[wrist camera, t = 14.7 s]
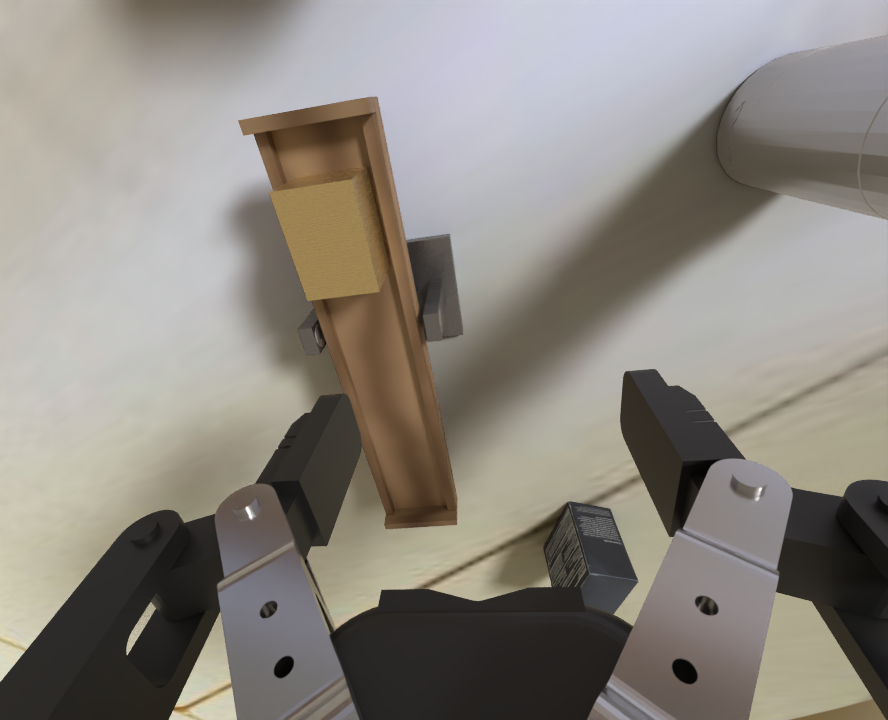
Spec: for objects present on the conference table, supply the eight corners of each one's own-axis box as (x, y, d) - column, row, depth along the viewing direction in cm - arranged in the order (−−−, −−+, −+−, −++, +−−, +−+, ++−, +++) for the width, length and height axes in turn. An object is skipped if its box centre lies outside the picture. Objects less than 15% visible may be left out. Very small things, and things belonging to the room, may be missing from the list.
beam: (377, 96, 27) (366, 97, 24) (457, 498, 48) (457, 524, 45) (261, 117, 28) (238, 120, 25) (390, 502, 49) (385, 529, 46)
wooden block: (351, 179, 24) (379, 291, 27) (367, 166, 28) (390, 265, 32) (268, 192, 24) (307, 301, 28) (297, 177, 28) (327, 273, 32)
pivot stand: (449, 233, 38) (446, 264, 31) (463, 330, 43) (462, 377, 36) (305, 254, 40) (266, 287, 32) (334, 344, 45) (307, 393, 37)
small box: (584, 555, 61) (605, 631, 52) (541, 548, 61) (555, 623, 52) (613, 508, 56) (642, 583, 47) (567, 499, 56) (587, 574, 47)
